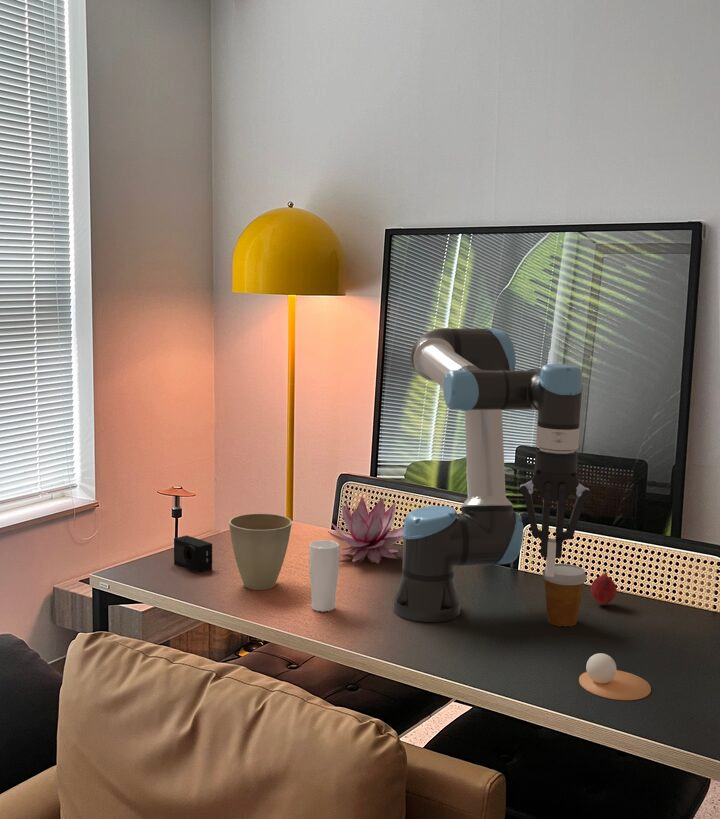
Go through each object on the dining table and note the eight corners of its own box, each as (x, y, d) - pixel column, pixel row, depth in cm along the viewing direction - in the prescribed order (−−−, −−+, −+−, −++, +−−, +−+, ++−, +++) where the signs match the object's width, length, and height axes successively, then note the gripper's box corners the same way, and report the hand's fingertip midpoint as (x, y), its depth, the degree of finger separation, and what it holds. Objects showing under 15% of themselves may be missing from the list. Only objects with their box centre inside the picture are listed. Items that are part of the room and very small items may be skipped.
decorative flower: (408, 572, 237) (410, 514, 235) (325, 569, 237) (326, 512, 235) (406, 547, 258) (407, 495, 256) (329, 545, 258) (330, 492, 256)
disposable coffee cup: (534, 614, 209) (537, 562, 208) (576, 614, 210) (579, 562, 208) (546, 630, 200) (549, 576, 198) (589, 629, 201) (593, 576, 199)
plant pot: (216, 590, 220) (217, 524, 217) (247, 572, 233) (248, 510, 231) (273, 599, 214) (274, 532, 212) (301, 580, 228) (302, 517, 226)
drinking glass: (343, 606, 211) (344, 542, 209) (329, 615, 205) (331, 550, 203) (316, 601, 214) (318, 538, 212) (302, 610, 208) (304, 545, 205)
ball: (623, 683, 172) (595, 692, 171) (614, 672, 177) (586, 680, 177) (616, 656, 171) (587, 664, 171) (607, 645, 176) (579, 653, 176)
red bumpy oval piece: (616, 610, 213) (618, 577, 212) (590, 608, 214) (592, 575, 213) (614, 602, 218) (616, 569, 217) (589, 600, 220) (591, 567, 218)
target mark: (581, 696, 168) (581, 695, 168) (576, 667, 181) (576, 666, 181) (655, 703, 166) (656, 702, 166) (645, 673, 179) (645, 672, 179)
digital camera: (169, 565, 238) (169, 538, 237) (186, 560, 242) (186, 534, 241) (195, 574, 231) (195, 547, 230) (212, 569, 235) (212, 543, 234)
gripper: (521, 451, 167) (514, 578, 170) (595, 455, 165) (587, 583, 168) (520, 444, 174) (514, 565, 177) (591, 448, 172) (584, 570, 175)
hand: (549, 574), depth 173 cm, fingers closed
